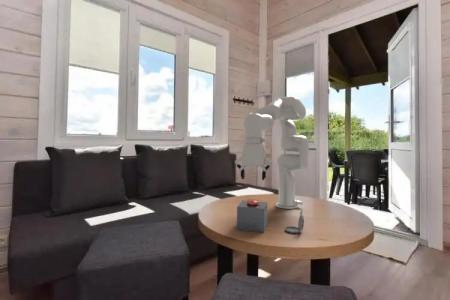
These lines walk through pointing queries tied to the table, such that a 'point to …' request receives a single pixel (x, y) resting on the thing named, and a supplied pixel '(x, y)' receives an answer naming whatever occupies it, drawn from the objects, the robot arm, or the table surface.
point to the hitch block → (252, 217)
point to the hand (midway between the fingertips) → (253, 179)
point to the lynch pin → (253, 202)
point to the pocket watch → (296, 229)
